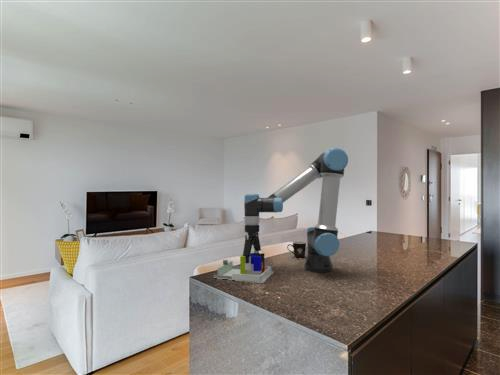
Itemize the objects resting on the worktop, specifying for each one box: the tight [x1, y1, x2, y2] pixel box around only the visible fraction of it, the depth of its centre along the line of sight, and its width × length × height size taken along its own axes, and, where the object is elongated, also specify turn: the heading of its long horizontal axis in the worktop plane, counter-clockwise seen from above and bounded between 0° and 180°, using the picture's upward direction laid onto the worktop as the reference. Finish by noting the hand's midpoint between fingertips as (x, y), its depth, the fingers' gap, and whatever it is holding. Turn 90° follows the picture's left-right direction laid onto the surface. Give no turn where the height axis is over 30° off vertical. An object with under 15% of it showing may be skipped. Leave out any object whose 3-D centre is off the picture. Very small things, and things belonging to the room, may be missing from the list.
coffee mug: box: [286, 241, 307, 259], centre depth 185 cm, size 12×9×10 cm
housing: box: [213, 265, 275, 284], centre depth 144 cm, size 26×19×3 cm
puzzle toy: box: [239, 252, 266, 275], centre depth 143 cm, size 10×10×10 cm
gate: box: [217, 259, 234, 275], centre depth 148 cm, size 2×17×6 cm, turn 160°
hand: (252, 266), depth 143 cm, fingers open, 13 cm apart
